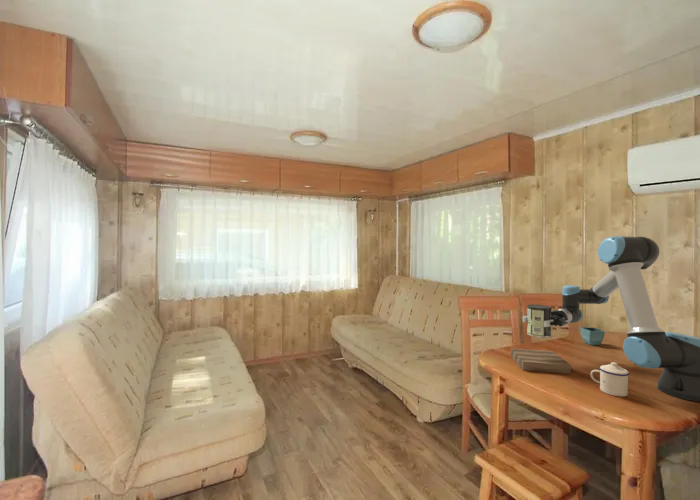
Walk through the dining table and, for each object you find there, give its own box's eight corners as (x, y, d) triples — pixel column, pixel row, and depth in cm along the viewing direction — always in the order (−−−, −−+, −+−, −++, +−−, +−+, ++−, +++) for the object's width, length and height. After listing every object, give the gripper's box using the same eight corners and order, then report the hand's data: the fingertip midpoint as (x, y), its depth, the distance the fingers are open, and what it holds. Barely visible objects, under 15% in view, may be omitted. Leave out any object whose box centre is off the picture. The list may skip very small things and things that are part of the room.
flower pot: (605, 346, 189) (605, 331, 189) (589, 346, 189) (590, 330, 189) (594, 342, 198) (594, 327, 198) (579, 341, 198) (579, 327, 198)
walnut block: (570, 373, 147) (570, 365, 147) (522, 370, 151) (522, 361, 151) (552, 358, 167) (552, 351, 167) (510, 355, 171) (510, 348, 171)
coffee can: (546, 332, 163) (546, 304, 163) (554, 338, 153) (555, 308, 153) (523, 331, 165) (524, 304, 165) (531, 337, 155) (531, 307, 155)
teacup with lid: (629, 392, 129) (630, 362, 129) (627, 399, 123) (628, 368, 123) (592, 383, 138) (592, 355, 138) (588, 389, 131) (589, 360, 131)
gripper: (584, 329, 158) (557, 335, 147) (538, 319, 177) (512, 324, 167) (584, 314, 158) (558, 318, 147) (538, 306, 177) (512, 309, 167)
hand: (533, 321), depth 157 cm, fingers closed on coffee can, 10 cm apart
